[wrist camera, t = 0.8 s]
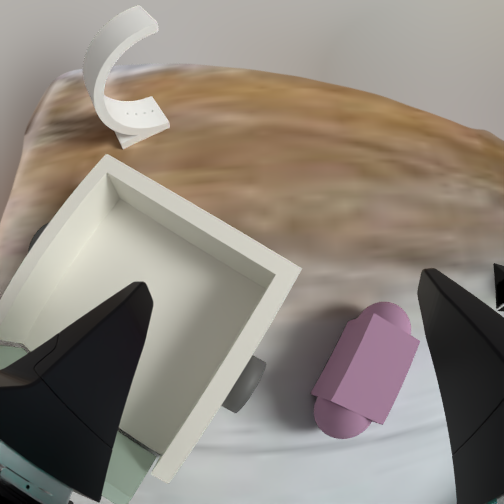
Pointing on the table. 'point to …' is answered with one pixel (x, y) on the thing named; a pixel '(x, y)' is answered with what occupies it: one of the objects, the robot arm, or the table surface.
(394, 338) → the dome-topped mauve block
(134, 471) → the panel
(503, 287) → the black grey mechanical block
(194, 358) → the wagon bed
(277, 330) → the table surface
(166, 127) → the headphone stand
